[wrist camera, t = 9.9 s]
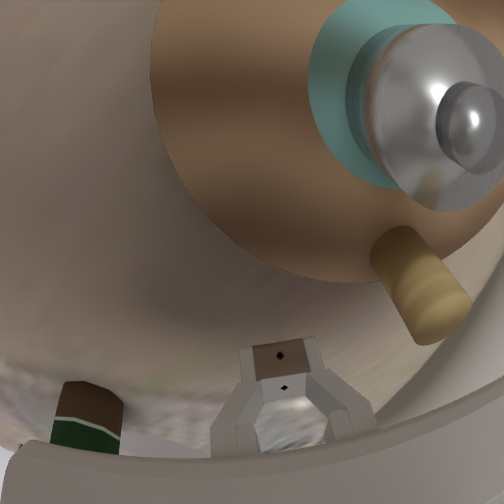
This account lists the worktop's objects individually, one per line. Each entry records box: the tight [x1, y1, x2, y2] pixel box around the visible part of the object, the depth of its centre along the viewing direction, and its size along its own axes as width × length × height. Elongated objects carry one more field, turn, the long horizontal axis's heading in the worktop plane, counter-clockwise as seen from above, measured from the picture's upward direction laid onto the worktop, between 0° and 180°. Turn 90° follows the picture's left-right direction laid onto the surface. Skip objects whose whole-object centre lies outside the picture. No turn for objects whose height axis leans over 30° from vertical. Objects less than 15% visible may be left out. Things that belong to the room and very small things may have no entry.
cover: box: [345, 24, 504, 212], centre depth 8 cm, size 7×7×4 cm
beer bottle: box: [50, 381, 123, 455], centre depth 18 cm, size 8×8×24 cm
